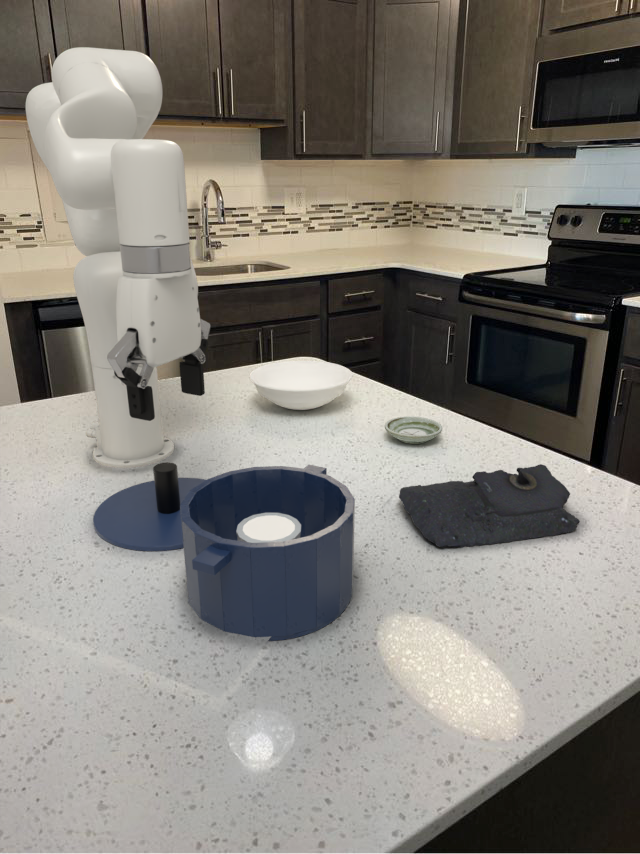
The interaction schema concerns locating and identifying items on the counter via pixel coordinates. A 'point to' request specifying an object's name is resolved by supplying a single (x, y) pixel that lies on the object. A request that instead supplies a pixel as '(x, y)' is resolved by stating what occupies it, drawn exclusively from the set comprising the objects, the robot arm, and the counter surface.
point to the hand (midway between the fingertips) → (169, 405)
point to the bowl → (301, 383)
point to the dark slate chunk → (490, 508)
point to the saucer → (413, 429)
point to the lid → (146, 512)
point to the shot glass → (268, 528)
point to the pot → (269, 552)
